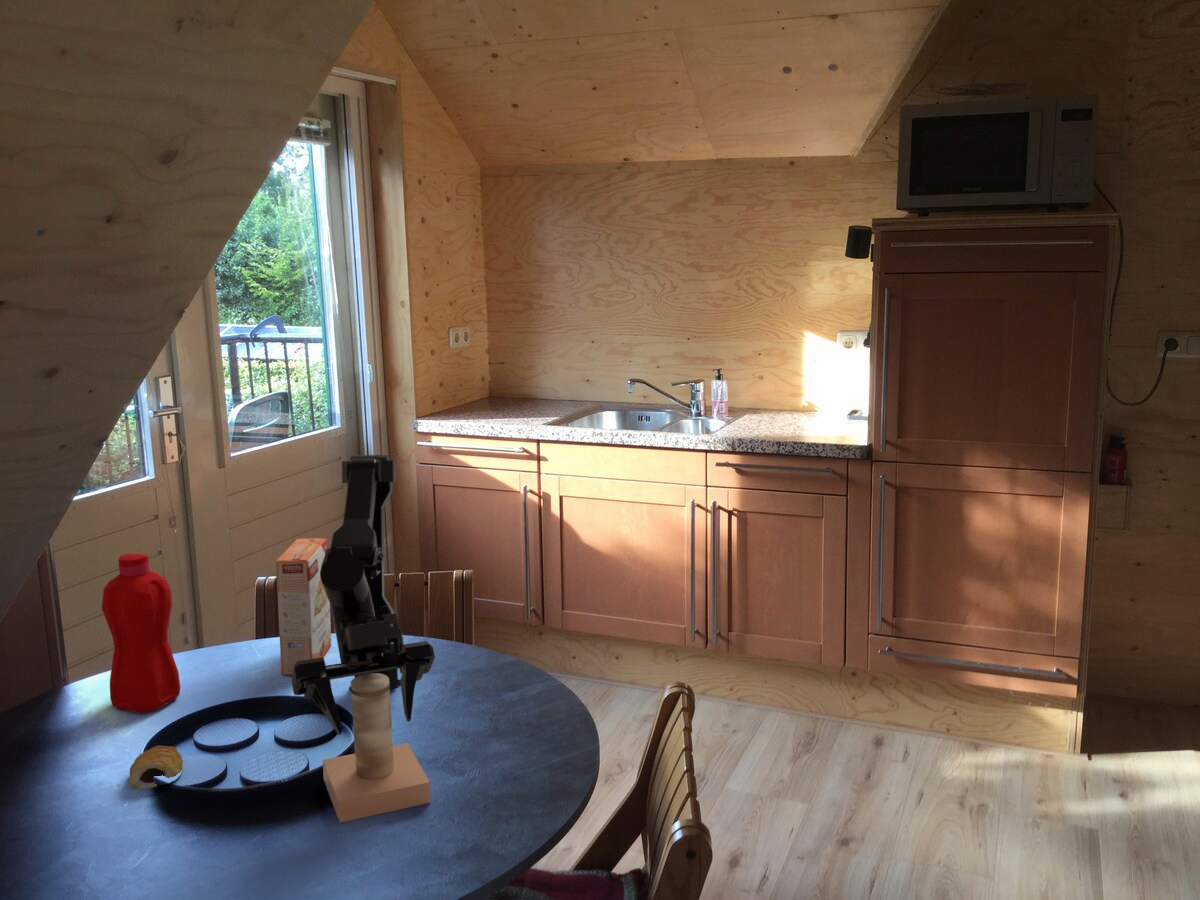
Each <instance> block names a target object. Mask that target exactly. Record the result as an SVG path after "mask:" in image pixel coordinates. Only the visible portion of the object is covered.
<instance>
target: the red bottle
mask: <svg viewBox="0 0 1200 900" xmlns="http://www.w3.org/2000/svg"><path fill="white" fill-rule="evenodd" d="M150 568H151V567H150V559H149V555H148V554H142V553H129V552H128V553H124V554H122V555H120V556H118V570H119V571H118V572H119V574H118V575H116V576H115V577H113V578H112V579H111V580H109V581H108V582H107V584H106V585H105V586H104V588H103V591H102V602H101V610H102V614H103V615H104V619H105V620H106V623H107V626H108V628H109V631H110V633H111V636H112V641H113V647H114V649H113V656H112V662H111V669H110V676H109V699H110V701H111V704H112V706H113V707H114V708H116V709H117V710H123V711H129V712H134V713H137V714H138V713H139V714H146V713H150V712H151V713H152V712H155V711H157V710H158V709H161V708H162V707H164V706H165V705H167V704H168V703H171V702H173V701H174V700H176V699H177V698H178V697H179V696H180V693H181V692H180V691H181V681H180V674H179V670H178V667H177V664H176V661H175V657H174V655H173V653H172V652H173V651H172V650H171V646H170V642H169V641H168V639H169V631H168V629H169V625H170V620H171V619H170V618H171V613H172V607H173V597H172V596H173V593H172V590H171V587H170V585H169V582H168V580H167V579H166V578H165V577H163V576H162V575H161V574H159V573H156V572H154V571H152V570H150Z"/></svg>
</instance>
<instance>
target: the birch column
mask: <svg viewBox="0 0 1200 900" xmlns="http://www.w3.org/2000/svg"><path fill="white" fill-rule="evenodd" d="M350 686H351V691H350V692H351V693H350V694H351V706H352V709H351V711H352V723H353V740H354V754H355V760H356V774H357V775H358V776H359V777H360V778H363V779H368V780H374V779H380V778H383V777H386V776H388V775H390V774H391V773H392V772H393V770H394V762H393V746H394V745H393V730H392V729H393V727H392V726H393V725H392V709H391V708H392V707H391V691H390V682H389V677H388V676H386V675H384V674H379V673H369V674H363V675H360V676H357V677H355V676H354V678H352V680H350Z"/></svg>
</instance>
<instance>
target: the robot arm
mask: <svg viewBox="0 0 1200 900" xmlns="http://www.w3.org/2000/svg"><path fill="white" fill-rule="evenodd" d="M397 470H398V469H397V462H396V461H395V460H392V459H391V460H390V457H389V454H361V455H360V454H358V455H355V454H353V455H351V457H350V460H343V461H341V483H342V484H346V485H347V490H346V498H345V505H344V512H343V513H344V514H343V520H342V521H343V522H342V525H341V526H340V527H338V529H337V530H335V532H333V534H332V537H331V543H330V548H328V549H327V550H326V554H325V557H324V560H323V563H322V566H321V570H320V578H321V581H322V584H323V586H324V589H325V592H326V595H327V598H328V600H329V602H330V610H331V613H332V620H333V625H334V632H335V637H336V642H337V647H338V648H337V649H338V654H339V660H340V663H336V664H327V665H326V661H325V659H324V658H323V657H321V658H315V659H308V660H302V661H297V663H296V664H295V665H294V667H293V674H292V675H291V683H292V684H291V685H292V690H293V695H294V696H304V700H312V701H313V702H314V703H315V705H317V706H318V708H319V709H320V710H321V711H322V712H323V714H324V715H325V716H326V718H327V719H328V721H329V723H330V724H331V726H332V728H333V729H334V730H335V732H336V733H337V735H338V736H339V735H342V732H343V729H342V724H341V718H340V715H339V711H338V708H337V704H336V701H335V700H336V699H335V698H334V697H335V696H334V694H333V691H332V689H333V688H332V684H331V680H335V679H342V678H348V677H354V678H355V677H357V676H360V675H363V674H369V673H379V674H384V675H386V676H388V677H389V682H390V692H391V691H392V690H394V689H396V688H397V687H399V686H400V689H401V697H402V706H403V712H404V713H403V714H404V716H405V717H404V718H405V720H406V722H411V719H412V713H413V703H414V694H415V687H416V683H417V681H420V680H422V679H423V675H425V674H428V673H429V672H430V671H431V668H432V665H433V664H434V661H435V658H436V656H435V652H434V648H433V645H432V644H431V643H429V641H428V640H424V641H418V642H411V643H405V644H404V637H403V631H402V629H401V627H400V625H399V624H400V623H399V620H398V617H397V613H395V611H394V608H393V607H392V606H391V603H390V602H389V601H388V599H387V597H386V596H385V564H386V556H385V541H384V538H385V536H384V535H385V533H384V532H385V526H384V522H385V521H384V516H385V515H384V511H385V510H384V509H385V507H386V505H387V503H388V501H389V499H390V497H391V496H392V494H393V493H394V492H393V490H394V486H393V485H394V483H396V482H397V477H398V476H397V473H398V472H397ZM398 669H399V671H400V674H401V676H400V679H399V678H398V677H399V676H398V673H399V672H398ZM348 691H350V692H351V685H350V686H348Z"/></svg>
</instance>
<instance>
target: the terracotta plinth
mask: <svg viewBox="0 0 1200 900" xmlns="http://www.w3.org/2000/svg"><path fill="white" fill-rule="evenodd" d="M393 762H394V770H393V772H392V773H391V774H390V775H388V776H386V777H383V778H380V779H374V780H368V779H363V778H360V777H359V776H358V775H357V774H356V760H355V753H351V754H345V755H341V756H336V757H331V758H326V759H325V758H323V759H322V772H323V774H322V775H323V776H322V777H323V781H324V785H325V787H326V790H327V793H328V795H329V797H330V801H331V803H332V806H333V809H334V812H335V814H336V817H337V819H338V823H339V824H340V823H345V822H349V821H354V820H359V819H362V818H369V817H372V816H376V815H382V814H386V813H389V812H394V811H395V812H396V811H399V810H405V809H409V808H412V807H413V808H414V807H417V806H422V805H427V804H431V783H430V780H429V778H428V776H427V775H426V773H425V771H424V769H423V768H422V766H421V764H420V762H419V761H418V759H417V756H416V755H415V753H414V752H413V749H412V748H411V746H410V744H409V743H408V742H406V743H402V744H396V745H393Z"/></svg>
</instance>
